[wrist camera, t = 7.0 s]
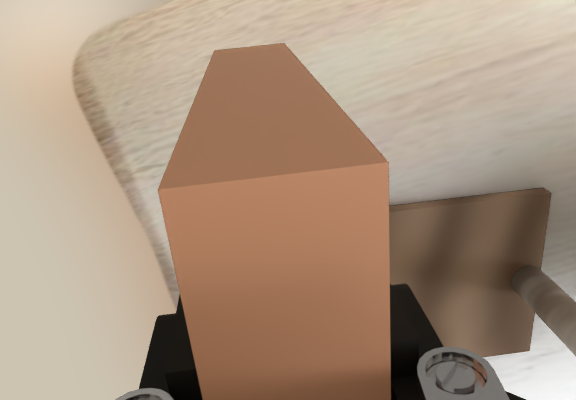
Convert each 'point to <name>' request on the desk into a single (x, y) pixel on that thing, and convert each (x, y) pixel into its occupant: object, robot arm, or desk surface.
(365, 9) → the desk surface
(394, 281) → the stand
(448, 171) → the desk surface
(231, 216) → the link
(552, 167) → the desk surface
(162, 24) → the desk surface
